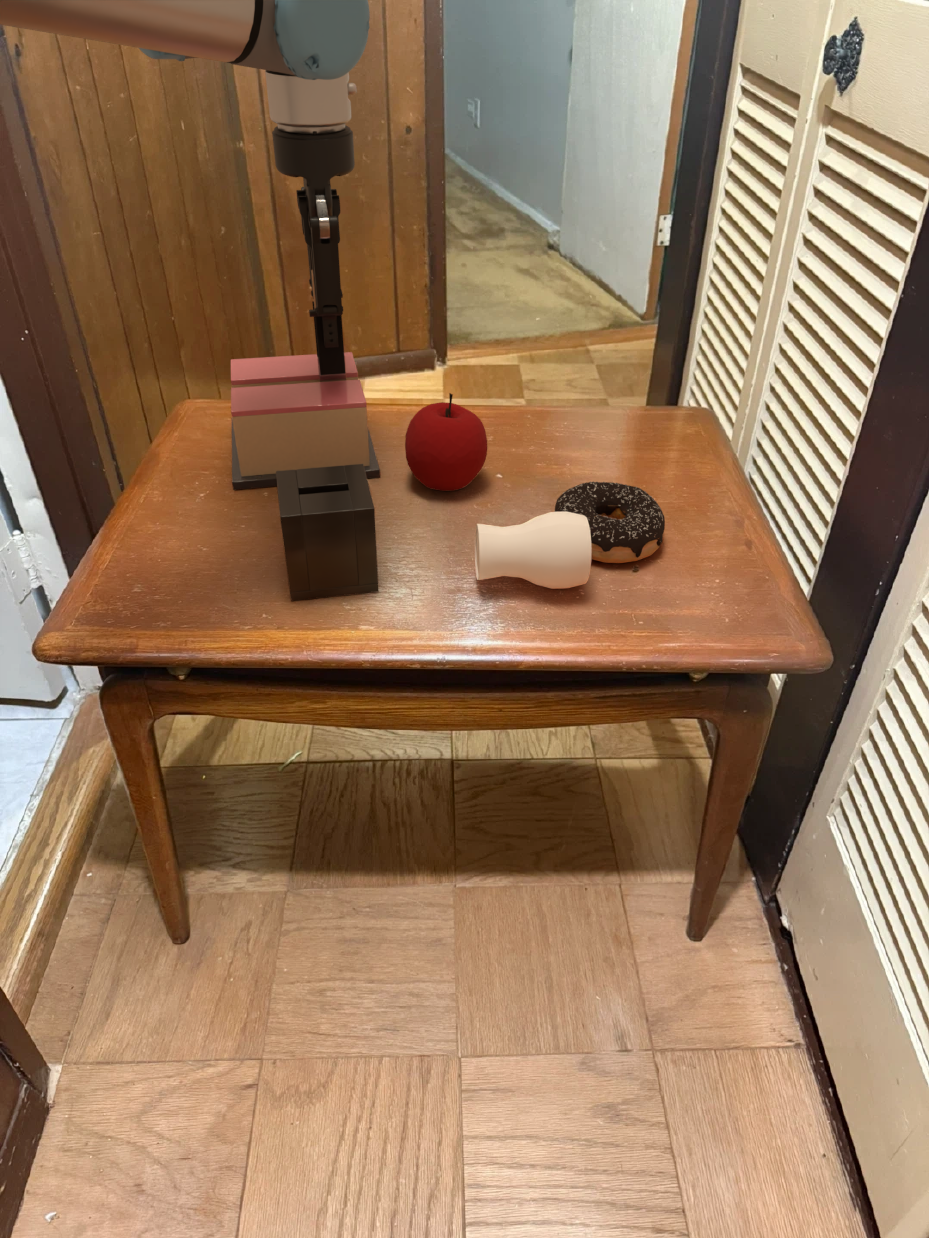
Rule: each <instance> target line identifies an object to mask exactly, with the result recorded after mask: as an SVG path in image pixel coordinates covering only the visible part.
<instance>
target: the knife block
mask: <svg viewBox="0 0 929 1238" xmlns="http://www.w3.org/2000/svg"><path fill="white" fill-rule="evenodd" d="M276 478H277V486H276V487H277V488H276V489H277V500H278V510H279V519H280V528H281V535H282V543H283V549H284V558H285V565H286V574H287V580H288V581H287V582H288V588H289V597H290V602H298V601H306V600H307V601H308V600H314V599H316V600H317V599H325V598H334V597H335V598H336V597H343V596H352V595H353V596H354V595H360V594H361V595H362V594H368V593H369V594H370V593H379V591H380V590H379V589H380V588H379V570H378V569H379V568H378V549H377V548H378V547H377V530H376V513H375V512H376V511H375V504H374V501H373V498H372V497H373V496H372V493H371V489H370V484H369V480H368V478H367V477H366V473H365V469H364V465H363V464H355V465H344V466H331V467H319V468H307V469H296V470H284V471H276Z"/></svg>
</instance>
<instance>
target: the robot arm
mask: <svg viewBox="0 0 929 1238" xmlns="http://www.w3.org/2000/svg"><path fill="white" fill-rule="evenodd" d="M370 13H371V12H370V4H369V0H0V26H7V27H11V28H18V29H23V30H28V31H35V32H41V33H48V34H54V35H58V36H59V35H60V36H66V37H72V38H78V39H82V40H83V39H84V40H88V41H89V40H90V41H95V42H102V43H106V44H107V43H108V44H113V45H119V46H124V47H125V46H126V47H131V48H138V49H139V50H140V51H141V52H142V54H144V55H145V56H146V57H148V58H151V59H153V60H176V61H178V62H184V61H185V60H186V59H187V60H188V59H203V60H209V61H213V62H219V63H220V62H221V63H227V64H231V65H234V66H239V67H246V68H250V69H251V68H252V69H256V70H263V71H264V73H265V84H266V93H267V102H268V103H267V104H268V112H269V118H270V120H271V121H272V122H273V123H274V124H276V125H277V126H275V127H274V128H273V130H272V131H271V134H272V135H271V136H272V145H273V153H274V165H275V168H276V170H277V171H278V172H279V173H280V174H282V175H284V176H287V177H291V178H302V180H303V181H302V182H303V186H301V188H300V189H296V192H295V193H296V202H297V208H298V212H299V214H300V219H301V220H300V221H301V230H302V235H303V236H304V242H305V243H306V249H307V260H308V267H309V268H308V269H309V270H308V271H309V279H308V283H309V285H310V288H311V291H310V295H311V297H312V300H313V301H312V302H311V304H312V309H308V313H309V314H308V315H309V317H310V318H313V325H314V336H315V337H314V338H315V347H316V348H315V349H316V354H317V357H319V366H320V375H331V374H346V373H345V358H344V353H345V347H344V346H345V345H344V332H343V331H344V330H343V314H344V306H343V302H342V301H343V300H342V299H343V297H344V294H343V291H342V290H343V289H342V284H341V283H342V282H341V268H340V267H341V266H340V254H339V253H340V252H339V244H340V242H341V231H340V221H339V217H340V214H341V200H340V195H339V194H338V191H337V189H336V188H332V185H331V179H333V178H334V177H344V176H346V175H348V174H350V173H351V172H353V171H354V168H355V165H356V164H355V146H354V131H353V130H351V127H350V126H349V125H346V124H347V123H349V122H350V121H351V119H352V101H351V100H350V98H349V96H354V95H356V94H357V93H358V87H357V85H356V83H354V82H349V81H350V74H349V73H350V72H351V71H352V70H353V69H354V68H355V67H356V65H357V64H358V63H359V61H360V60H361V58H362V56H363V54H364V52H365V49H366V46H367V44H368V39H369V30H370ZM311 270H313V279H314V290H315V301H316V308H314V297H313V285H312V273H311Z"/></svg>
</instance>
